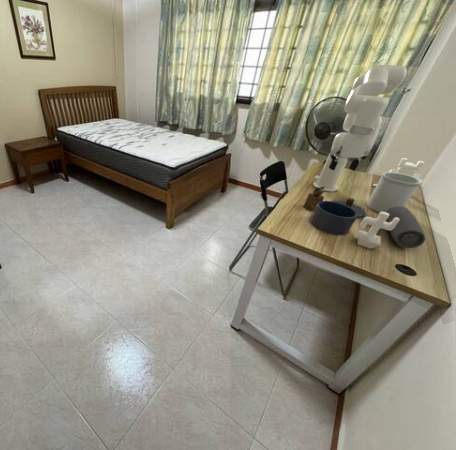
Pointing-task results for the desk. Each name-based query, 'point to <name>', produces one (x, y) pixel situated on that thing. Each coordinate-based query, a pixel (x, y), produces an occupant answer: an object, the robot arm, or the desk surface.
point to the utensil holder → (393, 191)
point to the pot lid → (353, 206)
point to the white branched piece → (408, 168)
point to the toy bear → (314, 198)
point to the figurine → (374, 229)
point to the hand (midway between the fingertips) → (341, 169)
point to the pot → (333, 217)
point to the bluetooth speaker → (405, 228)
